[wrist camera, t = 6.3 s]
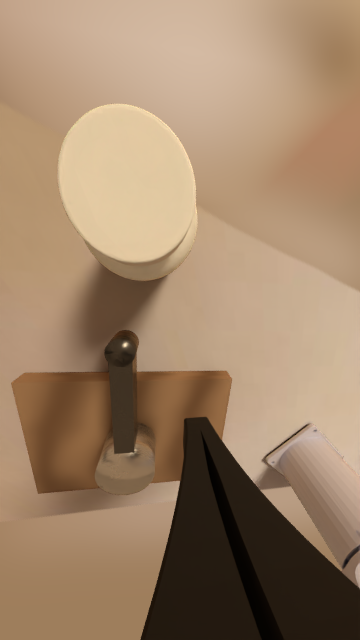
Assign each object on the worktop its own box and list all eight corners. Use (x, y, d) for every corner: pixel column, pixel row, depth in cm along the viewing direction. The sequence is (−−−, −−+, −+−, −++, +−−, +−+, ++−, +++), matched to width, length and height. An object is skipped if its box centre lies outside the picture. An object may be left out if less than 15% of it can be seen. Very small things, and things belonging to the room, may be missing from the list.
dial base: (226, 370, 18) (233, 380, 17) (212, 463, 22) (216, 479, 20) (24, 372, 16) (9, 384, 14) (47, 477, 20) (36, 496, 18)
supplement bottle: (122, 280, 15) (57, 293, 5) (109, 209, 13) (-11, 61, 4) (183, 274, 15) (219, 278, 6) (177, 206, 13) (215, 65, 4)
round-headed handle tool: (155, 457, 18) (154, 491, 15) (107, 461, 18) (96, 497, 15) (158, 326, 14) (157, 340, 11) (96, 325, 14) (79, 339, 11)
